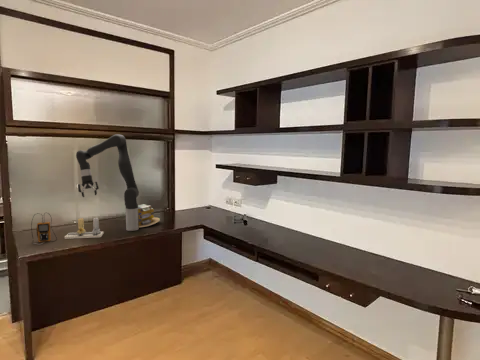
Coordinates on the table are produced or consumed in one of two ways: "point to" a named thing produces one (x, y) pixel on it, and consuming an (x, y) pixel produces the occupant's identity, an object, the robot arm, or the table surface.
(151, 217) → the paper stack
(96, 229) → the white stand
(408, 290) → the table surface
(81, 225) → the brass leg
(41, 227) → the multimeter
